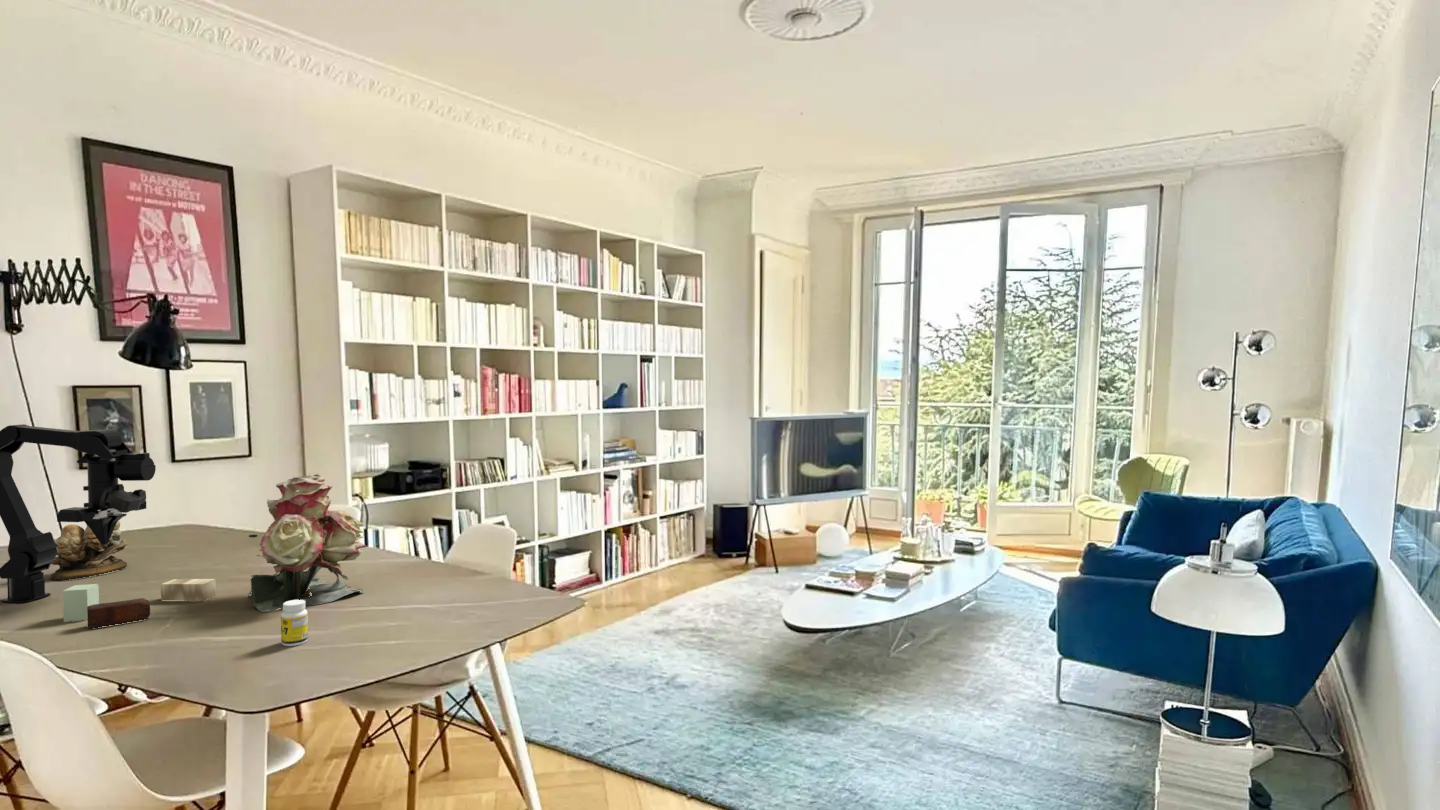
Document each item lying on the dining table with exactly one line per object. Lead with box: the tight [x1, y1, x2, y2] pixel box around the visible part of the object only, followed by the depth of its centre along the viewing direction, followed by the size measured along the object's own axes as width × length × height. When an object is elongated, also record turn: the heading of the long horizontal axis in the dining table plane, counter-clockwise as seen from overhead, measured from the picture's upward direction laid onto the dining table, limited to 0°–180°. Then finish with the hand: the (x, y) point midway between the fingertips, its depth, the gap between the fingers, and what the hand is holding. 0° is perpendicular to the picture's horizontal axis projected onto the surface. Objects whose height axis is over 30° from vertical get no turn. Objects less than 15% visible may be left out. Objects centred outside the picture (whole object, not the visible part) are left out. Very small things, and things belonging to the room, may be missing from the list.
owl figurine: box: [50, 520, 129, 581], centre depth 204 cm, size 18×12×17 cm, turn 162°
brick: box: [87, 597, 151, 630], centre depth 163 cm, size 11×4×5 cm, turn 132°
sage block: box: [62, 583, 100, 623], centre depth 166 cm, size 4×4×7 cm
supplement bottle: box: [280, 599, 309, 647], centre depth 152 cm, size 5×5×8 cm
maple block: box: [160, 578, 217, 602], centre depth 181 cm, size 4×4×10 cm
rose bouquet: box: [247, 473, 367, 613], centre depth 185 cm, size 26×29×30 cm
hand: (104, 544), depth 181 cm, fingers closed
